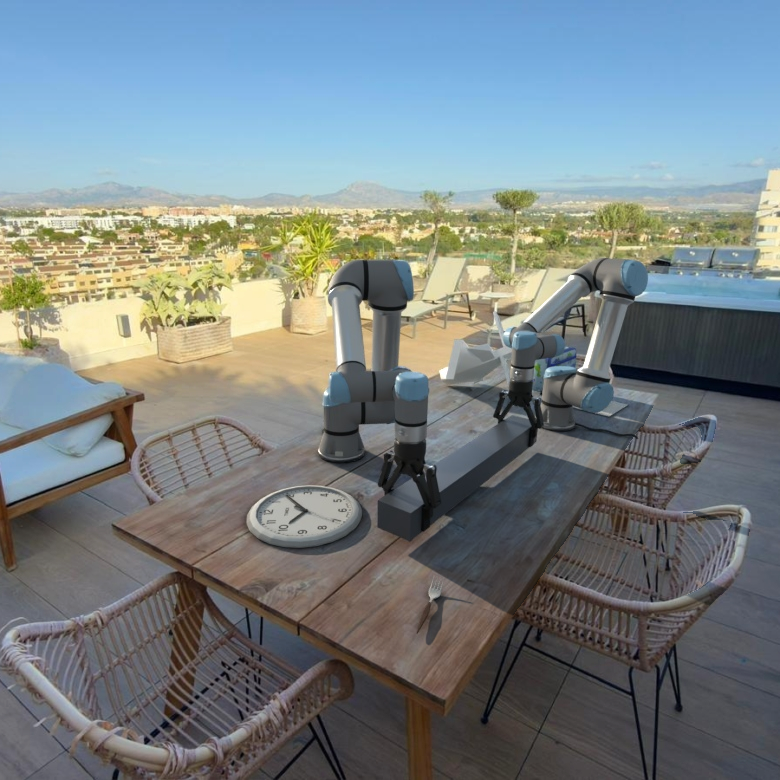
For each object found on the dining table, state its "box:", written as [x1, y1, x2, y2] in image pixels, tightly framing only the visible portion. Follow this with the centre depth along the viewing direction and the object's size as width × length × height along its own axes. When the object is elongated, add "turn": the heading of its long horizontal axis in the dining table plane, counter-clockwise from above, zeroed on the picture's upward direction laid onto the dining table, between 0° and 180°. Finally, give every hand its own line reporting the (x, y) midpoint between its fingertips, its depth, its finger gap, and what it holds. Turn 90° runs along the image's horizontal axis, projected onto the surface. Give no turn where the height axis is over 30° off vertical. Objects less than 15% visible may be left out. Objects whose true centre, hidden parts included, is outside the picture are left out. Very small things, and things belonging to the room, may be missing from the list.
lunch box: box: [532, 346, 577, 394], centre depth 245 cm, size 26×11×21 cm, turn 134°
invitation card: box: [573, 400, 629, 418], centre depth 226 cm, size 21×1×15 cm
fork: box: [416, 574, 445, 635], centre depth 104 cm, size 3×16×2 cm, turn 160°
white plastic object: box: [438, 310, 512, 388], centre depth 245 cm, size 37×45×31 cm
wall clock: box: [246, 484, 363, 549], centre depth 137 cm, size 30×2×30 cm
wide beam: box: [376, 414, 538, 542], centre depth 153 cm, size 76×10×8 cm, turn 143°
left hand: (407, 521), depth 129 cm, fingers closed on wide beam, 10 cm apart
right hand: (516, 441), depth 178 cm, fingers closed on wide beam, 10 cm apart
